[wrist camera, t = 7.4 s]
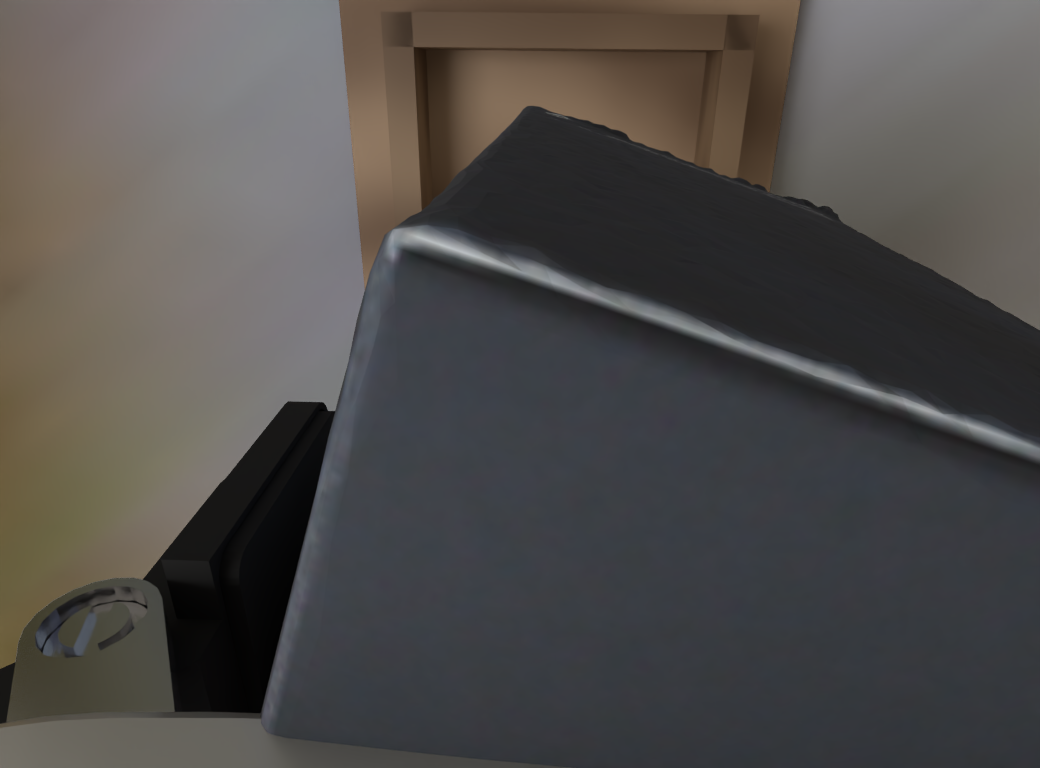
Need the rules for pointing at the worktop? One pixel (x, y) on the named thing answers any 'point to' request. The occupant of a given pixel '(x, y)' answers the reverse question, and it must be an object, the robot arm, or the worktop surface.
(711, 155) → the brown shallow box
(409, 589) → the small box
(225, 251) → the worktop surface
